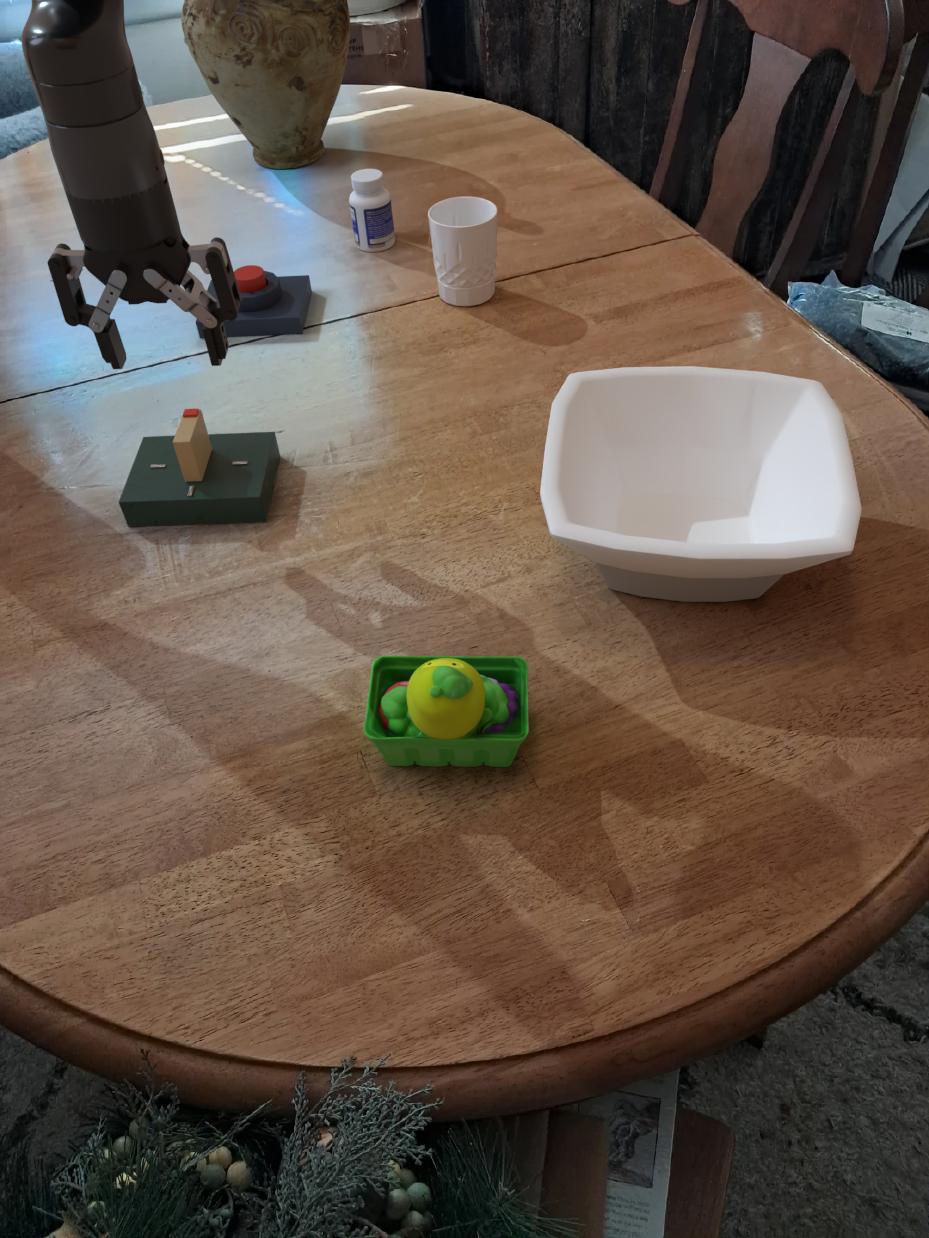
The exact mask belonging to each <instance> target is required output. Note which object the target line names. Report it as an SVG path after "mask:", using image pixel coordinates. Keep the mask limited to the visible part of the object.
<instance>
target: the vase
mask: <svg viewBox="0 0 929 1238" xmlns="http://www.w3.org/2000/svg"><path fill="white" fill-rule="evenodd" d="M180 20H181V28H182V29H181V30H182V33H183V36H184V38H183V41H184V44H185V45H186V46H187V48H188V51H189V54H190V55H191V57H192V59H193V61H194V63H195V65H196V66H197V68H198V69H199V72H200V74H201V76H202V79H203V81H204V82H205V85H206V86H207V88H208V91H210V93H211V95H212V96H213V97H214V99H215V100H216V102H217V103H218V105H219V106H220V107H221V109H222V110H223V111H224V113H225V114H226V115H227V117H228V118H229V119H230V120H231V121H232V123H233V124H234V125H235V126H236V127H237V129H238V130H239V131H240V133H241V134H242V135H243V136H244V138H245V139H246V140H247V141H248V143H249V144H250V145H251V146H252V148H253V149H252V157H253V159H254V161H255V163H257V164H258V165H259V166H262V167H264V168H267V169H273V170H274V169H276V170H287V169H296V168H301V167H304V166H307V165H310V164H312V163H314V162H316V161H318V160H320V159H321V158H322V156H323V155H324V153H325V145H324V142H323V139H322V138H323V135H324V133H325V130H326V127H327V125H328V123H329V121H330V120H329V119H330V116H331V114H332V111H333V109H334V106H335V104H336V101H337V98H338V96H339V93H340V90H341V87H342V82H343V78H344V75H345V70H346V67H347V66H346V65H347V61H348V55H349V49H350V38H351V16H350V10H349V3H348V0H184V1H183V5H182V9H181V15H180Z"/></svg>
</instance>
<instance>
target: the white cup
mask: <svg viewBox="0 0 929 1238" xmlns="http://www.w3.org/2000/svg"><path fill="white" fill-rule="evenodd" d="M427 219H428V227H429V233H430V243H431V250H432V258H433V265H434V272H435V276H436V280H437V287H438V294H439V299H441V300H442V301H443V302H444V303H446V304H449V305H452V306H456V307H473V306H477V305H481V304H484V303H486V302H487V301H489V300H491V299H492V297H493V296H494V294H495V293H496V269H497V252H498V251H497V250H498V207H497V205H496V204H495V203H494V202H492V201H491V200H488V199H486V198H483V197H478V196H467V195H466V196H453V197H450V198H445V199H443V200H440V201H438V202H436V203H434V204H433V205H432V206H431V207H430V208H429V209H428V211H427Z"/></svg>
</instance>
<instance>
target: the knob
mask: <svg viewBox="0 0 929 1238" xmlns="http://www.w3.org/2000/svg"><path fill="white" fill-rule="evenodd" d="M208 434H209V432H208V429H207V425H206V422H205V419H204V415H203V412H202V409H199V408H184V410H183V412H182V416H181V419H180V421H179V424H178V427H177V429H176V433H175V435H174V436H175V437H174V440H173V445H174V448H175V451H176V454H177V457H178V461H179V464H180V467H181V470H182V473H183V476H184V479H185V482H194V481H202V479H203V476H204V473H205V470H206V467H207V464H208V461H209V457H210V454H211V451H212V446H211V442H210V439H209V435H208Z"/></svg>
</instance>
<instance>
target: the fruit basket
mask: <svg viewBox="0 0 929 1238" xmlns="http://www.w3.org/2000/svg"><path fill="white" fill-rule="evenodd" d="M370 668H371V670H370V676H369V684H368V693H367V701H366V707H365V714H364V720H363V727H362V731H363V734H364V736H365V737H366V738H367V739H368V740H369V741H370V742H371V743H373V744H374V746H375V747H376V749H377V750H378V751H379V753H380V755H382V757H383V758H384V760H385V761H386V763H387V764H388V765H389V766H390V767H409V766H413V765H417V766H421V767H445V766H449V765H450V766H454V767H461V768H462V767H463V768H464V767H470V768H472V767H473V768H476V767H481V766H483V765H484V766H486V767H490V768H508V767H511V765H512V763H514V759H515V757H516V755H517V753H518V752H519V749H520V747H521V744H522V743H524V741H525V740H526V738H527V736H528V734H529V731H530V725H529V723H530V722H529V665H528V661H526V659H524V658H523V657H520V656H516V655H498V656H497V655H483V656H482V655H481V656H479V655H477V656H476V655H469V656H468V655H465V656H464V655H453V656H452V655H451V656H450V655H381V656H378V657H376V658H375V659H374V660H373V662H372V663H371V667H370Z"/></svg>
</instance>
